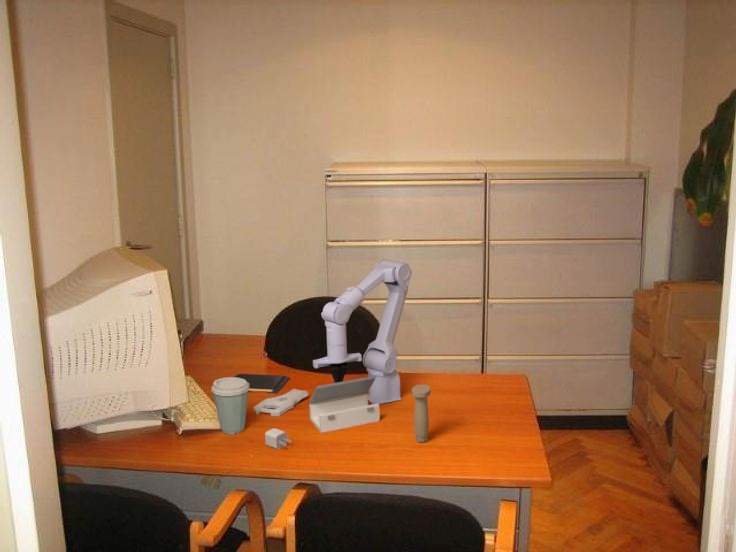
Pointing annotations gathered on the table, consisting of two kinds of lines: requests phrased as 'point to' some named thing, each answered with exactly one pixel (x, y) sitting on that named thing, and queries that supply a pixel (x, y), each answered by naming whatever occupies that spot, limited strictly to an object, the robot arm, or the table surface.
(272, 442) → the usb wall charger
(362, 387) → the cover
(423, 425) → the handle
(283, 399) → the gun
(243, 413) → the disposable coffee cup
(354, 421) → the open hinged case
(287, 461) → the table surface
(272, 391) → the black notebook
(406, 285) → the robot arm
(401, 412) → the table surface
